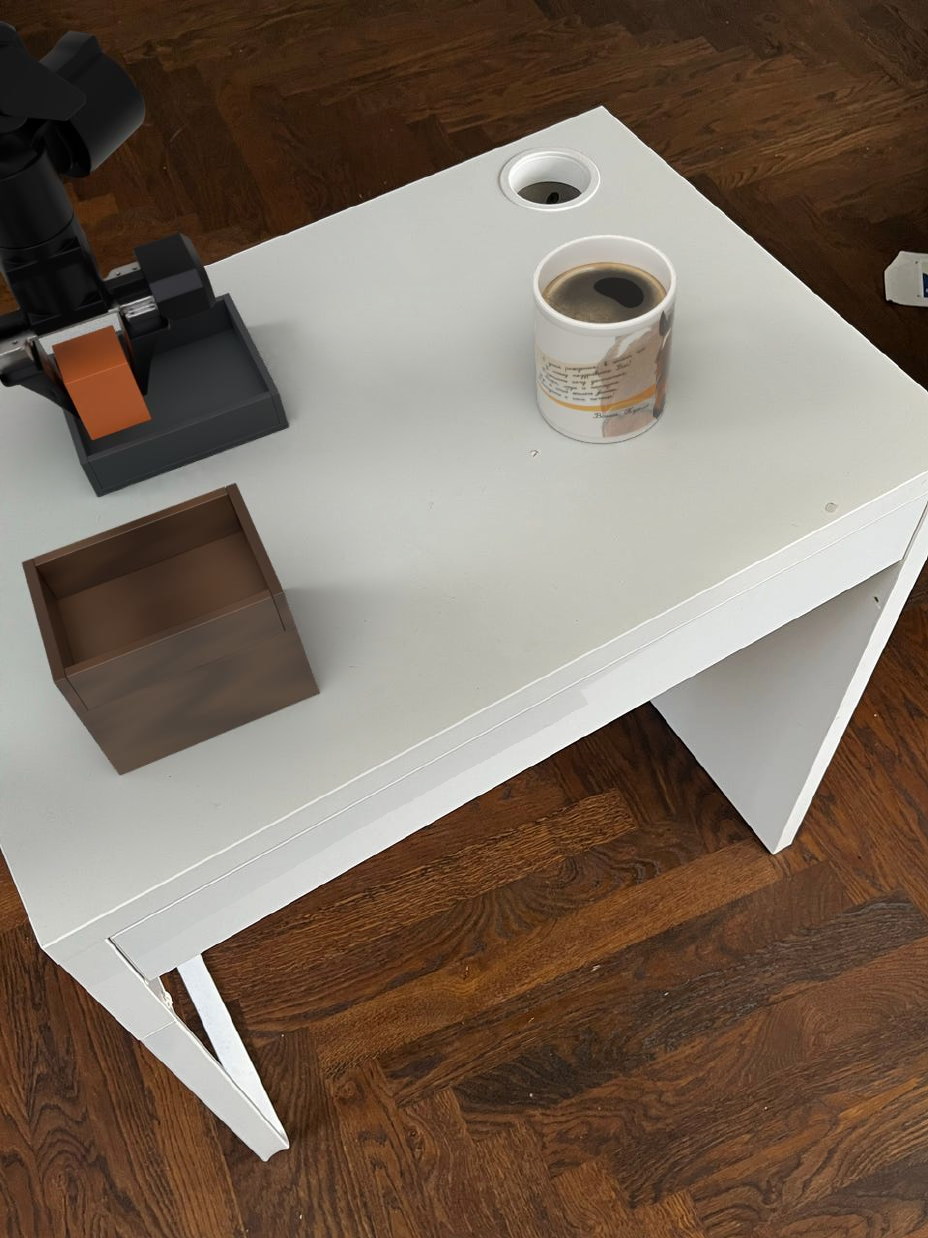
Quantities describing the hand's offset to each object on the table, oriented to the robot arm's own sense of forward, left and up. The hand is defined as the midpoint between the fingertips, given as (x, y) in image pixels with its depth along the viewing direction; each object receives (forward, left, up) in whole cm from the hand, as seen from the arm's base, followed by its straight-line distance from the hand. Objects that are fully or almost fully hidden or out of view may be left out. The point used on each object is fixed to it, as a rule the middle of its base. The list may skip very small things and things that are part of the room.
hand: (111, 403), depth 84 cm
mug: (+35, -12, -5) cm, 37 cm away
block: (0, 0, -1) cm, 1 cm away
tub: (+4, +3, -5) cm, 7 cm away
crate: (-1, -23, -5) cm, 23 cm away
